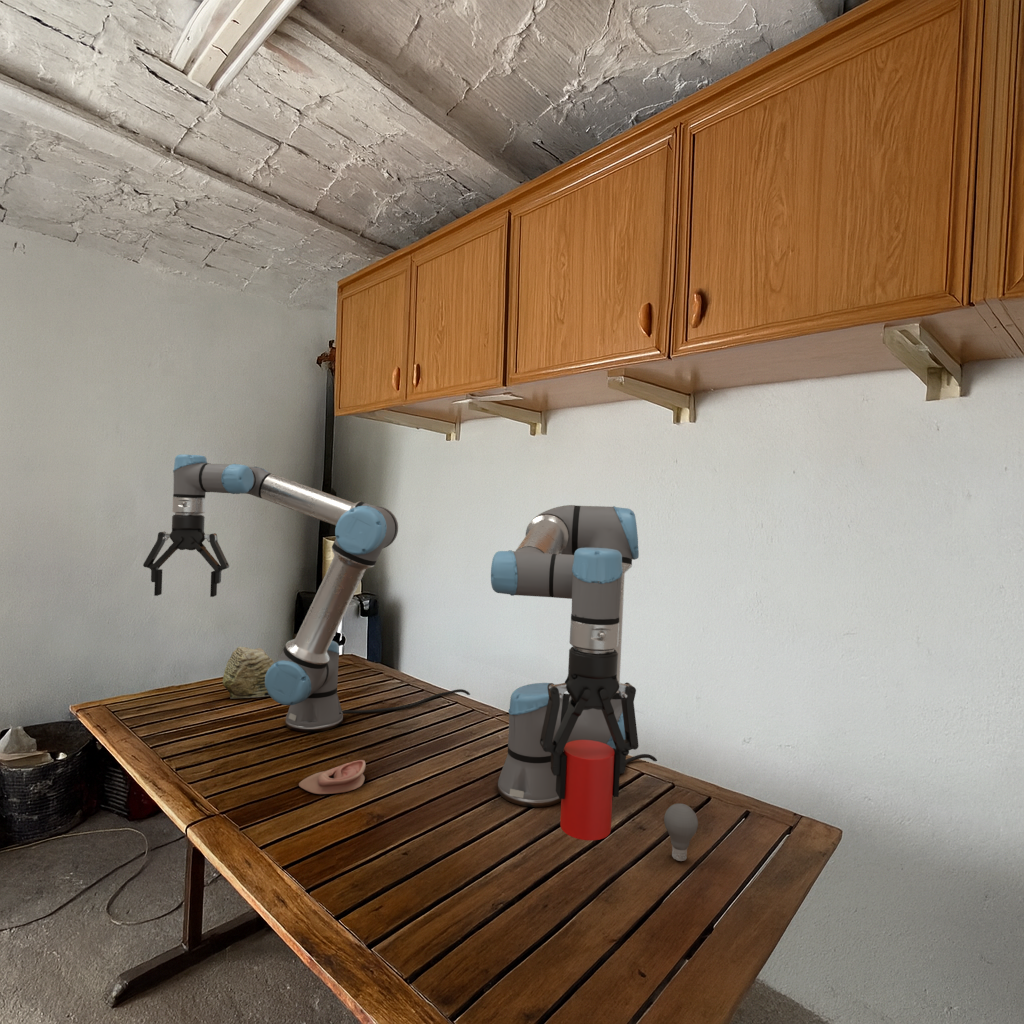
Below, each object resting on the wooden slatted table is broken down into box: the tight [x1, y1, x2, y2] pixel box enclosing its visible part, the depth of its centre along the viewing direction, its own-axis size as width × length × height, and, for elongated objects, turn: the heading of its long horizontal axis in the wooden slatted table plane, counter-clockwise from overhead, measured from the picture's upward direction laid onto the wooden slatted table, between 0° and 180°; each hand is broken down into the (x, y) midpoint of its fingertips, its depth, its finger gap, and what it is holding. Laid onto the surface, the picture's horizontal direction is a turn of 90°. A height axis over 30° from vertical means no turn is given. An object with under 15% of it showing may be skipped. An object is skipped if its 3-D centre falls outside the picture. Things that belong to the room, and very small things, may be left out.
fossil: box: [222, 646, 275, 699], centre depth 198 cm, size 9×18×15 cm, turn 132°
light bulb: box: [663, 802, 699, 862], centre depth 116 cm, size 6×6×10 cm
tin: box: [559, 740, 615, 841], centre depth 98 cm, size 8×8×12 cm
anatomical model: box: [298, 759, 367, 795], centre depth 140 cm, size 13×4×12 cm
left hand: (185, 595), depth 165 cm, fingers open, 13 cm apart
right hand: (586, 793), depth 98 cm, fingers closed on tin, 8 cm apart
